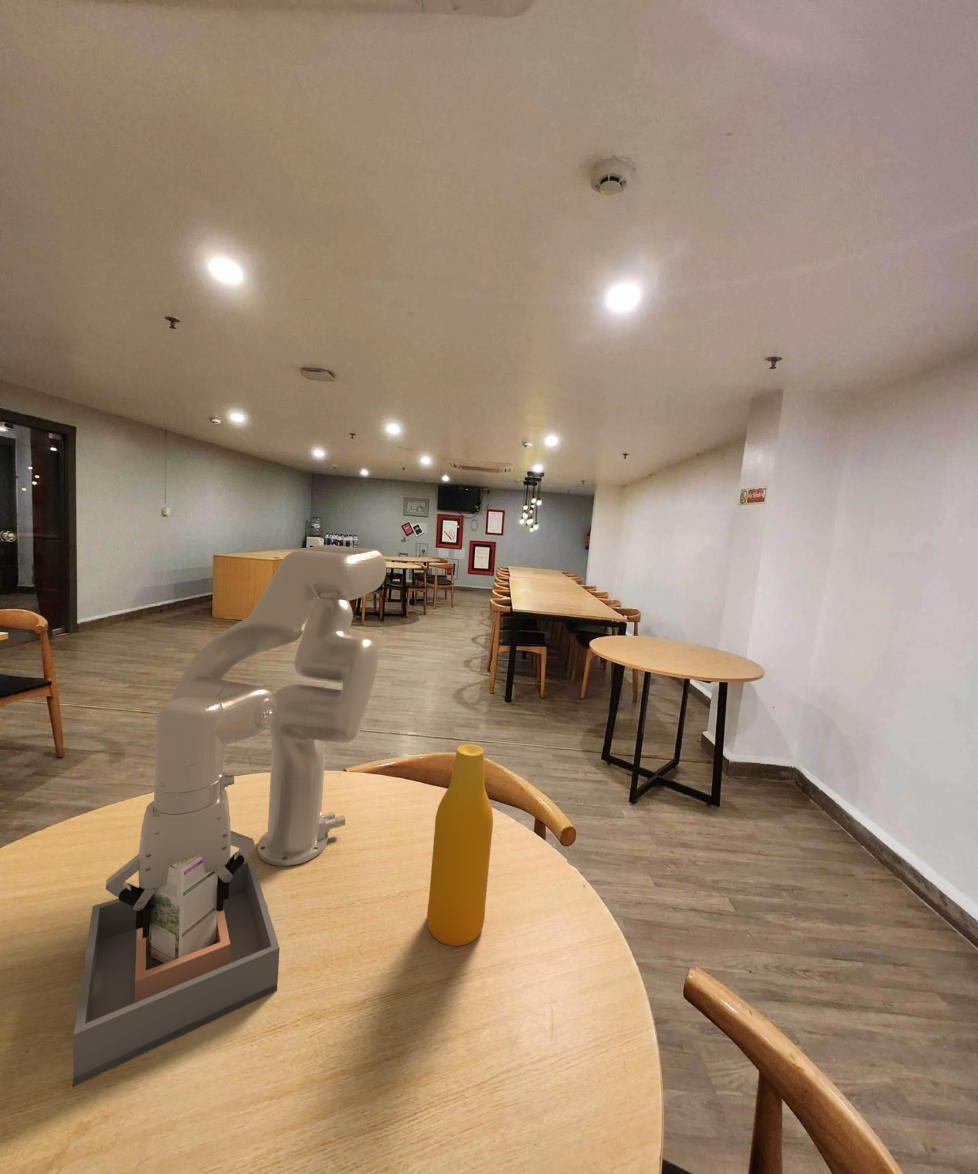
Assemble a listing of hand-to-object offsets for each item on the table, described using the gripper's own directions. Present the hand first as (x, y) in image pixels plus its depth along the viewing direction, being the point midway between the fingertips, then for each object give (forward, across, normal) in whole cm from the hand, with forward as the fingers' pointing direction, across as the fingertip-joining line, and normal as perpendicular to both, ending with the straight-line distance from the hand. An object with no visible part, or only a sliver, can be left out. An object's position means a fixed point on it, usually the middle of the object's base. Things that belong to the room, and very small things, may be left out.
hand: (183, 916), depth 61 cm
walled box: (+7, 0, 0) cm, 7 cm away
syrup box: (+5, 0, 0) cm, 5 cm away
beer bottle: (+8, -36, +13) cm, 39 cm away
